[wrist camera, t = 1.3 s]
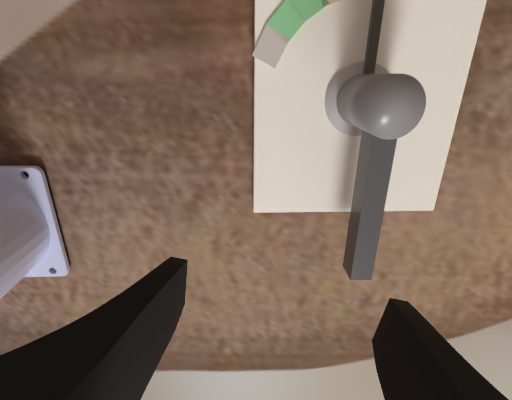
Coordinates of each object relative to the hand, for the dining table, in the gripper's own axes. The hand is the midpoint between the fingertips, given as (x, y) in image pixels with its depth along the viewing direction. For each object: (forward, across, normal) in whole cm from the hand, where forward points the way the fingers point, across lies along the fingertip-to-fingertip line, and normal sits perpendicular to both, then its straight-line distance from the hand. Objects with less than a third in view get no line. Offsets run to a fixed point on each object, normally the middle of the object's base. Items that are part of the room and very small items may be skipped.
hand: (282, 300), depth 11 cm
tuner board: (+11, -3, -6) cm, 13 cm away
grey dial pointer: (+10, -3, -5) cm, 12 cm away
